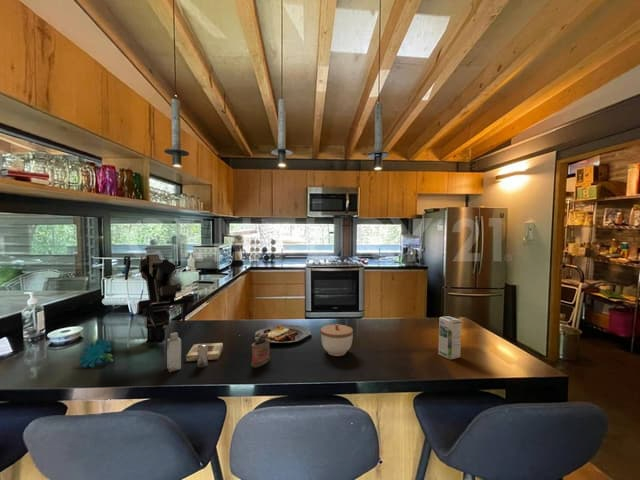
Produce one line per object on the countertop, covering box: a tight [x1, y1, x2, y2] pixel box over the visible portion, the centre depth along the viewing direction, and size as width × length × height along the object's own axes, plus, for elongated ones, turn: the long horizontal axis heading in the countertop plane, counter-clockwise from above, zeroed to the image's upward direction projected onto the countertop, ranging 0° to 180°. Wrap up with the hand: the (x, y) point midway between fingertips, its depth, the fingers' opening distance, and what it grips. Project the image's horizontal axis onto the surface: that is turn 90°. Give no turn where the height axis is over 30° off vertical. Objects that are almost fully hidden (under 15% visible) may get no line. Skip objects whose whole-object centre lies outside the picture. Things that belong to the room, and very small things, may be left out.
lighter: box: [251, 333, 271, 368], centre depth 104 cm, size 8×3×10 cm, turn 148°
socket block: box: [185, 342, 224, 362], centre depth 112 cm, size 11×11×2 cm
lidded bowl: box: [320, 323, 354, 357], centre depth 114 cm, size 13×13×11 cm
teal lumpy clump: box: [78, 338, 114, 369], centre depth 104 cm, size 11×6×10 cm
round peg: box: [197, 343, 209, 368], centre depth 102 cm, size 3×3×7 cm
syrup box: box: [438, 315, 462, 360], centre depth 112 cm, size 6×6×14 cm
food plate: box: [254, 324, 312, 344], centre depth 132 cm, size 25×23×4 cm
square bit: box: [166, 331, 182, 373], centre depth 99 cm, size 4×4×12 cm
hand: (170, 324), depth 106 cm, fingers open, 9 cm apart
